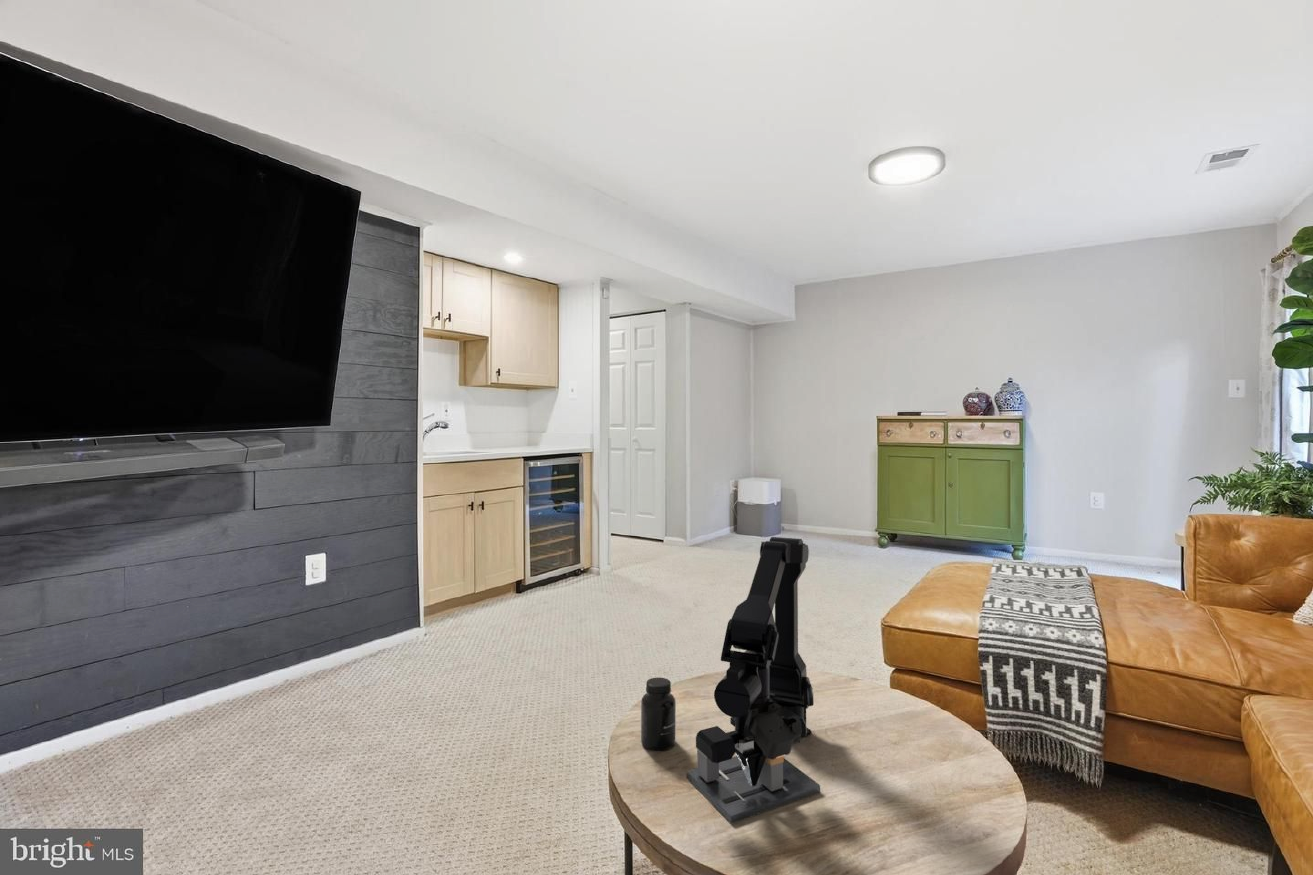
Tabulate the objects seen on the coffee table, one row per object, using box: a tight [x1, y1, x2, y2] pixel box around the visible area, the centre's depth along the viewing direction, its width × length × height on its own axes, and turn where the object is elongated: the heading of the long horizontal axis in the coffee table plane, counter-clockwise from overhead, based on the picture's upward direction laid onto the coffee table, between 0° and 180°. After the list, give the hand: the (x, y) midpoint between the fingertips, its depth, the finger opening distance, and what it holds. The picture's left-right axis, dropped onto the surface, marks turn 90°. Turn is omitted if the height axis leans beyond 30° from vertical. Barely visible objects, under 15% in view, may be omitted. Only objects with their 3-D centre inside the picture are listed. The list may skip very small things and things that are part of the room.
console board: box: [686, 755, 821, 825], centre depth 102 cm, size 18×14×1 cm
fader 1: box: [696, 748, 719, 782], centre depth 103 cm, size 3×3×5 cm
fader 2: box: [760, 755, 785, 791], centre depth 100 cm, size 3×3×5 cm
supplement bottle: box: [640, 677, 677, 751], centre depth 117 cm, size 7×7×12 cm
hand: (752, 784), depth 98 cm, fingers closed
